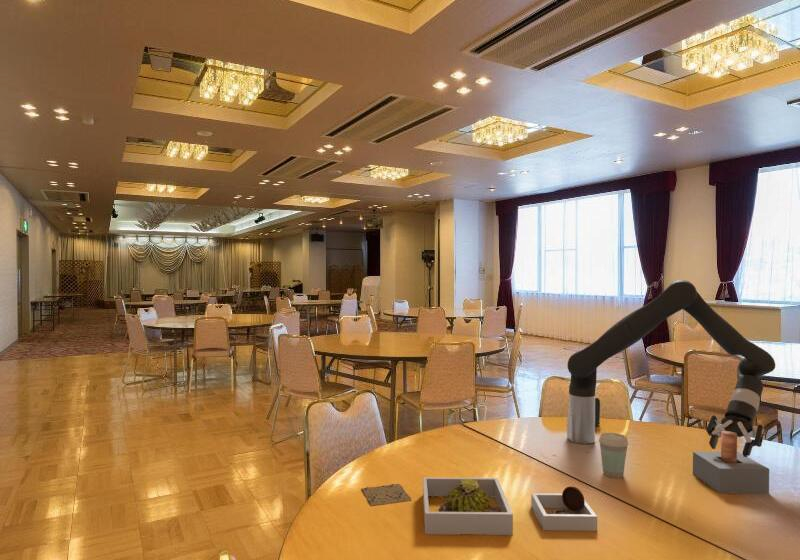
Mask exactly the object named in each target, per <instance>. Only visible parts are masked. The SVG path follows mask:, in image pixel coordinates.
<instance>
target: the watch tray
mask: <svg viewBox="0 0 800 560" xmlns="http://www.w3.org/2000/svg"><path fill="white" fill-rule="evenodd" d="M530 496H531V499H530V503H531V509H532V511H533V512H534V514H535V516H536V518H537V520H538V522H539V524H540V526H541V528H542V530H543V531H574V532H575V531H576V532H577V531H579V532H580V531H581V532H583V531H585V532H586V531H587V532H588V531H594V532H598V516H597V514H596V513H595V512H594V510H593V509H592V508H591V506H590V505H589V504H588V502H587V501H586V500H585V499H584V501H585V502H584V507H583V508H582V510H580V511H579V514H576V513H574V514H552V513H547V512H546V510H545V509H568V508H567V507H566V506H565V505H564V503H563V499H562V493H551V492H550V493H544V492H543V493H537V492H536V493H534V492H531V495H530Z"/></svg>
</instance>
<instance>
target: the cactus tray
mask: <svg viewBox="0 0 800 560" xmlns="http://www.w3.org/2000/svg"><path fill="white" fill-rule="evenodd" d="M465 478H466V479H471V480H472V479H475V480H476V481H477V483H478V484H479V488H480V489H481V490H483V492H485V493H486V496H488V497H487V498H494V500H495V503H496V502H497V503H496V505H497V508H498V509H500V511H501V512H439V511H430V507H429V506H430V505H429V496H431V497H434V496H438V497H442V496H447V495H448V493H449V492H450V491H451V490H452V489H453V487H457V486H456V485H458V486H459V485H460V484H461V482H460V481H461V480H462V479H465ZM502 487H503V486H502V485H501V482H500V481H499V478H498V477H435V476H434V477H427V476H425V477H422V500H423V501H422V503H423V518H424V519H423V520H424V535H460V534H478V535H477V536H481V535H482V534H487V535H486V536H513V535H514V533H513V532H514V530H513V529H514V528H513V527H514V521H513V520H514V519H513V518H514V516H513V511H512V509H511V507H510V504H509V501H508V499H507V497H506V495H505V492H504V489H503V488H502ZM438 497H437V498H438ZM442 498H443V497H442ZM479 534H481V535H479ZM489 534H490V535H489ZM482 536H483V535H482Z"/></svg>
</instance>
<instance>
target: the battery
mask: <svg viewBox="0 0 800 560" xmlns="http://www.w3.org/2000/svg"><path fill="white" fill-rule="evenodd" d="M600 416H601V400H600V398H599V397H597V396H595V426H599V425H600V418H601V417H600Z"/></svg>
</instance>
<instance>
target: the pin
mask: <svg viewBox="0 0 800 560" xmlns="http://www.w3.org/2000/svg"><path fill="white" fill-rule="evenodd" d="M720 452H721V460H722V461H723V462H725V463H737V452H738V437H737V433H735V432H731V431H724V430H723V431H722V432H721V437H720Z"/></svg>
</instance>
